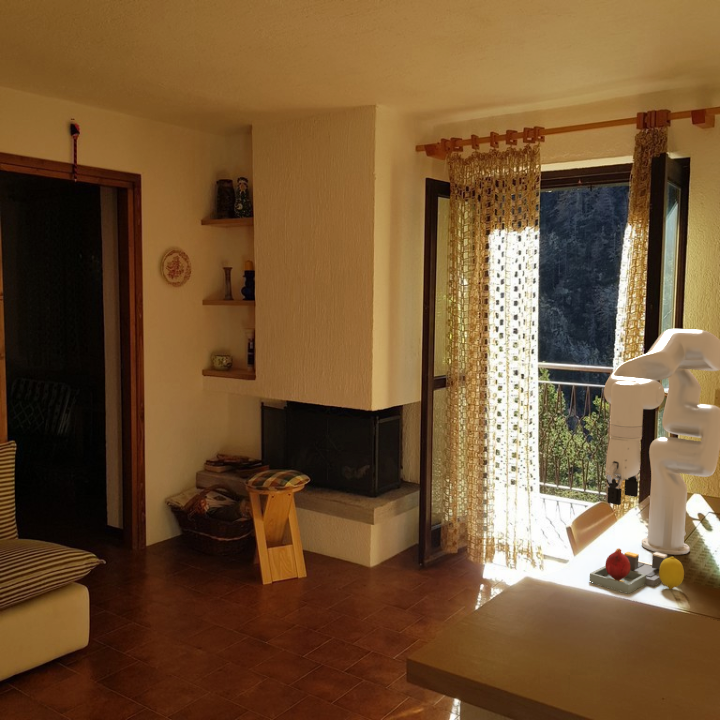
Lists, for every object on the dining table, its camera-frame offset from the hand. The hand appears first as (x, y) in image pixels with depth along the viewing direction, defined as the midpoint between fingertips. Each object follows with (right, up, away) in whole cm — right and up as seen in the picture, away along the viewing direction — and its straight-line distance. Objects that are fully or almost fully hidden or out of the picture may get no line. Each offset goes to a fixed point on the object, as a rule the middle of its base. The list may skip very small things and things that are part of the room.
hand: (622, 499), depth 185 cm
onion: (-2, -20, -2) cm, 20 cm away
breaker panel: (+7, -20, +3) cm, 21 cm away
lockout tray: (-2, -20, -2) cm, 20 cm away
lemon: (+10, -21, -5) cm, 24 cm away
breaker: (+10, -18, +3) cm, 21 cm away
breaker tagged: (+3, -18, +3) cm, 18 cm away
